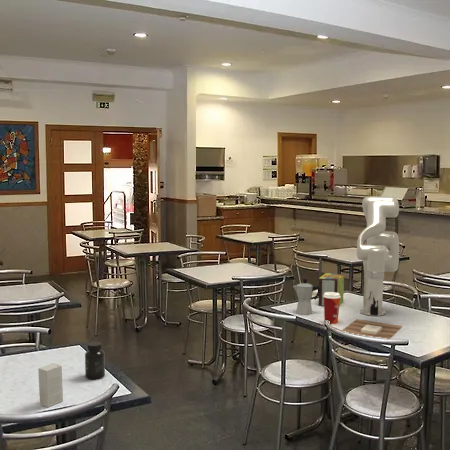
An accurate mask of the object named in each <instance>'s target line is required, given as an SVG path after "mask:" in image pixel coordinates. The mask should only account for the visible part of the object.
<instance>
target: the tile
mask: <svg viewBox="0 0 450 450" xmlns="http://www.w3.org/2000/svg"><path fill="white" fill-rule="evenodd" d="M381 330H382V327H380V326H373V325H366V326H364V327H363V328H362V329H361V333H366V334H372V335H377V334H378V333H379V332H380V331H381Z"/></svg>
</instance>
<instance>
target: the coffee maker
mask: <svg viewBox="0 0 450 450" xmlns="http://www.w3.org/2000/svg"><path fill="white" fill-rule="evenodd" d="M302 281H303V282H302V283H301V282H300V283H298V284H296V285H293V286H292V288H293V289H294V290H295V292H296V295H297V296H296V297H297V306H296V314H297V315H301V316H309V315H313V309H312V300H311V299H314V300H315V301H316V300H317V298H319V294H320V292H321V291H322V289H321V287H320V286H319V285H316V283H315V284H314V283H313V284H311V283H308V278H306V277H304V278H302ZM317 290H318V292H317V293H316V295H315V296H314V297H313V292H315V291H317ZM312 297H313V298H312Z"/></svg>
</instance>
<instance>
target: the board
mask: <svg viewBox="0 0 450 450" xmlns="http://www.w3.org/2000/svg"><path fill="white" fill-rule="evenodd" d="M366 325H373V326H380V327H382V330H381V331H380V332H379V333H378V334H377V335H372V334H366V333H361V329H362V328H363V327H364V326H366ZM401 328H403V325H398V324H391V323H384V322H377V321H373V320H372V321H371V320H363V319H357V318H356V319H355V320H354V321H353V322H351V323H350V324H348V325H347V326H346V327H344V328H343V329H342V330H341V331H346V332H349V333H348V334H351V333H354V334H353V335H357V334H359V336H363V335H365V336H364V337H369V336H373V337H372V338H375V337H381V338H387V339H386V340H388V339H390V340H391V339H392V338H393V337H394V336H395V334H397V333H398V332H399V331H400V329H401ZM381 338H380V339H381Z"/></svg>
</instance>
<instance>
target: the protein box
mask: <svg viewBox="0 0 450 450" xmlns="http://www.w3.org/2000/svg"><path fill="white" fill-rule="evenodd" d="M344 285H345V274H339V273H328V272H326V273H324V274H323V275H321V276H320V277H319V278H318V286H320V287H321V289H322V291H321V292H320V294H319V295H318V307H324V297H323V295H324V293H326V292H336V293H339V294H340V302H339V306H340V305H341V304H343V303H344V290H345V289H344V288H345V287H344Z"/></svg>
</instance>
